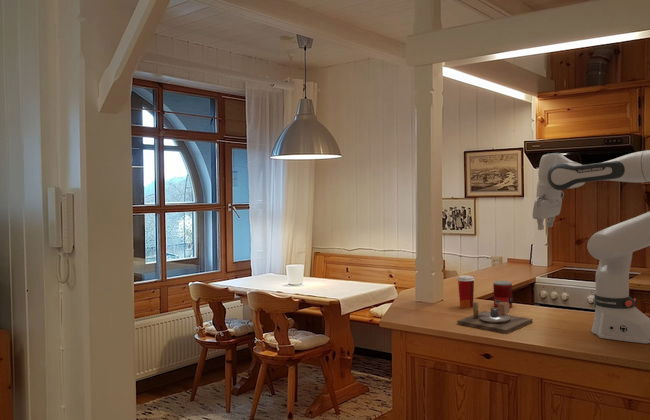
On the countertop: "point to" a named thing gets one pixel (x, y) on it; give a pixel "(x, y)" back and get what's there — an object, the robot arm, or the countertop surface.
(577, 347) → the countertop surface
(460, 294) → the paper cup
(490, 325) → the base board
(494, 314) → the flange
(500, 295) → the canned food
